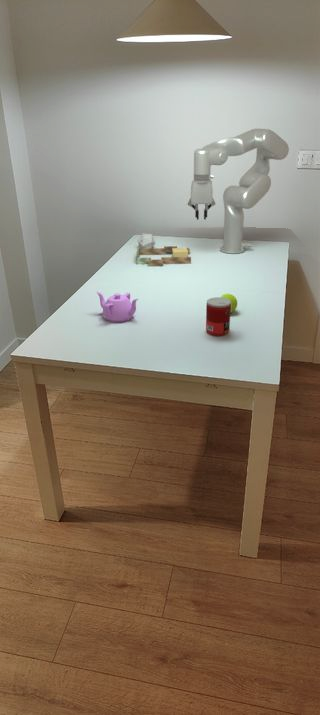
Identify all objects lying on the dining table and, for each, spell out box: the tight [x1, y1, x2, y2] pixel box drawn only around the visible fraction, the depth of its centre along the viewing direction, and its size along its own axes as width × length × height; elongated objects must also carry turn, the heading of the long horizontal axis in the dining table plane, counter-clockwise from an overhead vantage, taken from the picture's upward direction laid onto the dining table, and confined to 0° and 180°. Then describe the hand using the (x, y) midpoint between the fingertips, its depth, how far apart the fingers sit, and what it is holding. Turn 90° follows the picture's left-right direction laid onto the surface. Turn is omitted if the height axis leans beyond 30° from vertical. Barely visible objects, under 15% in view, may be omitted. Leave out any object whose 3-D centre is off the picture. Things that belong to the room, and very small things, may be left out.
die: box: [136, 233, 156, 249], centre depth 266 cm, size 8×9×10 cm
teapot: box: [95, 291, 139, 323], centre depth 185 cm, size 12×14×9 cm
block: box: [171, 247, 189, 257], centre depth 250 cm, size 7×7×4 cm
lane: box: [135, 245, 192, 267], centre depth 250 cm, size 26×23×4 cm
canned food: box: [205, 296, 231, 337], centre depth 172 cm, size 8×8×11 cm
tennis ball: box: [219, 293, 238, 314], centre depth 188 cm, size 7×7×7 cm
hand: (201, 218), depth 242 cm, fingers closed
